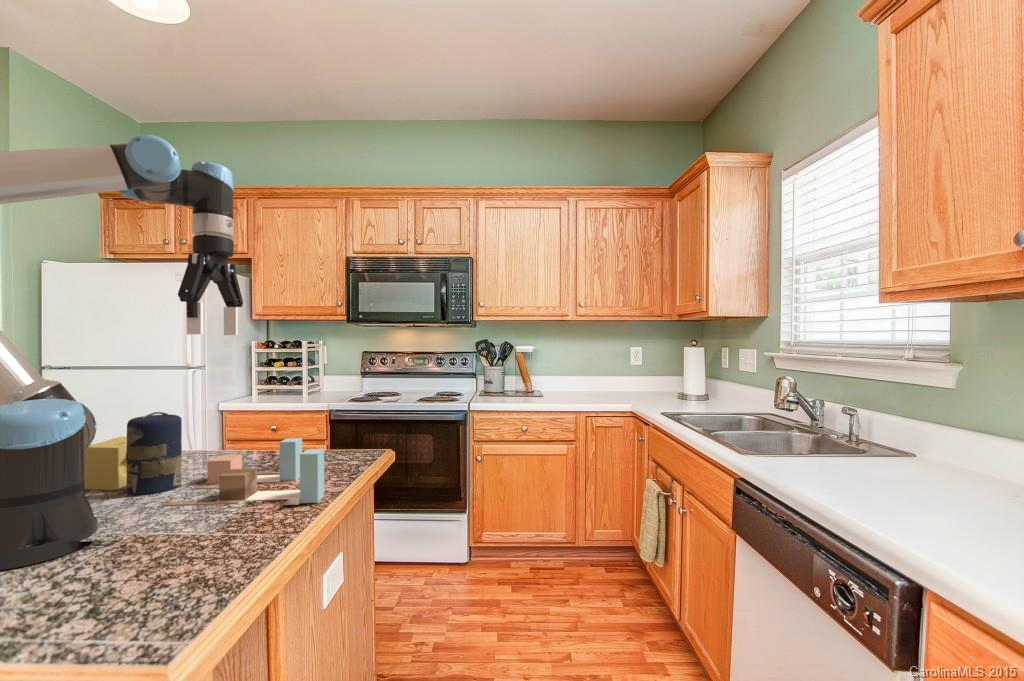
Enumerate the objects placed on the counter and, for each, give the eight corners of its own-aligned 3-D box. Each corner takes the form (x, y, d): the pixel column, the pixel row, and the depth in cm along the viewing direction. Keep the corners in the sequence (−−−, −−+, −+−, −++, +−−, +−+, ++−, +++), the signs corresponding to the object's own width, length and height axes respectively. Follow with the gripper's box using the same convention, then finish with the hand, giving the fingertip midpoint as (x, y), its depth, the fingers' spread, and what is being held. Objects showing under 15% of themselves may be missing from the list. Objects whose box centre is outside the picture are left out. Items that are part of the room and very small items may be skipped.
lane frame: (237, 510, 90) (237, 502, 90) (162, 513, 89) (162, 504, 89) (282, 478, 111) (282, 471, 111) (222, 480, 110) (222, 473, 110)
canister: (117, 497, 98) (117, 413, 98) (167, 485, 106) (167, 407, 106) (140, 505, 93) (139, 416, 93) (190, 491, 102) (190, 410, 102)
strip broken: (294, 486, 104) (294, 442, 104) (204, 489, 103) (204, 444, 103) (303, 479, 110) (303, 437, 110) (218, 481, 108) (218, 439, 108)
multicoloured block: (316, 504, 93) (316, 454, 93) (215, 507, 91) (215, 457, 91) (325, 494, 98) (325, 448, 98) (230, 497, 97) (230, 450, 97)
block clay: (230, 482, 103) (230, 460, 103) (207, 483, 103) (207, 461, 103) (241, 476, 108) (241, 454, 108) (219, 476, 108) (219, 455, 108)
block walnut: (245, 499, 92) (245, 475, 92) (219, 500, 92) (219, 475, 92) (257, 491, 97) (257, 468, 97) (232, 492, 97) (232, 468, 97)
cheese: (159, 477, 113) (158, 437, 113) (117, 492, 102) (116, 447, 102) (120, 476, 114) (120, 436, 114) (74, 490, 103) (74, 446, 103)
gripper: (196, 222, 88) (197, 334, 88) (258, 248, 112) (259, 335, 113) (155, 222, 87) (155, 334, 87) (226, 248, 112) (227, 335, 112)
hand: (214, 335), depth 100 cm, fingers open, 13 cm apart
